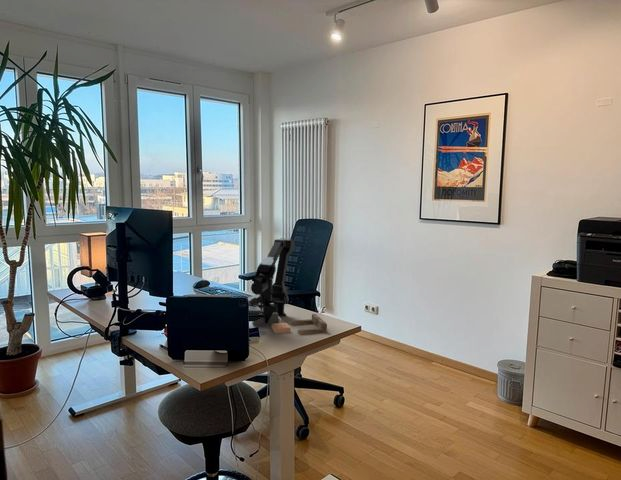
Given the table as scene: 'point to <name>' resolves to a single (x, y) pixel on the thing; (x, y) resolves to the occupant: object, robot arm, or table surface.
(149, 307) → the table surface
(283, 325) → the tile
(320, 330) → the tile rack
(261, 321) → the scraper
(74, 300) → the table surface
